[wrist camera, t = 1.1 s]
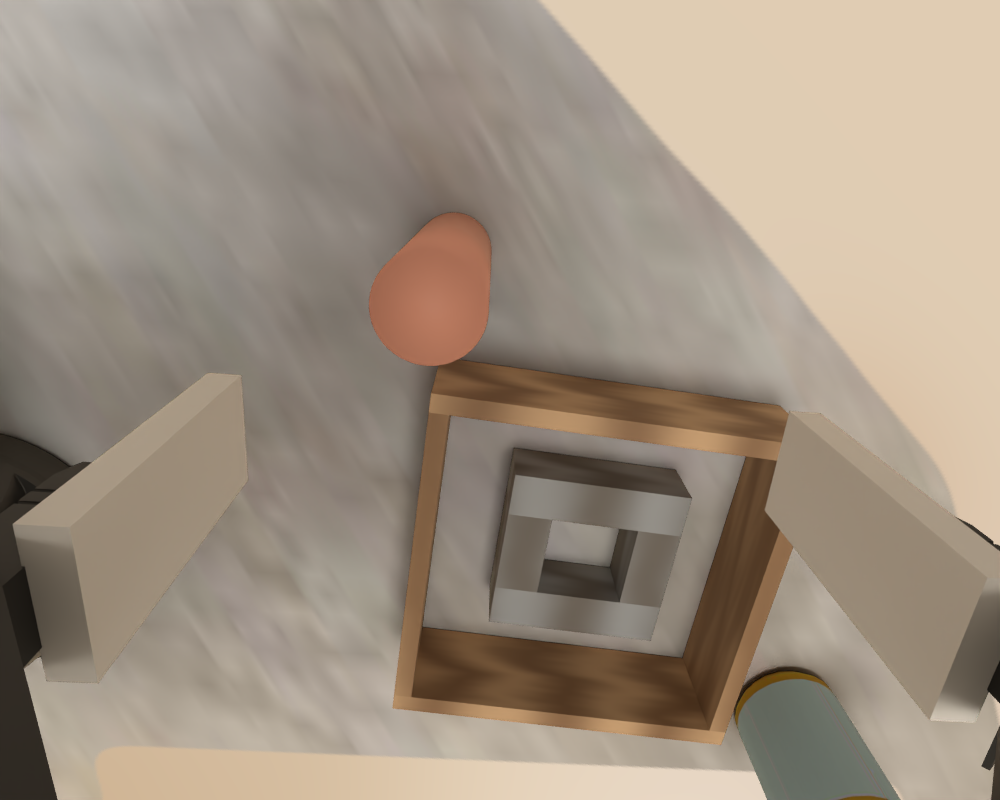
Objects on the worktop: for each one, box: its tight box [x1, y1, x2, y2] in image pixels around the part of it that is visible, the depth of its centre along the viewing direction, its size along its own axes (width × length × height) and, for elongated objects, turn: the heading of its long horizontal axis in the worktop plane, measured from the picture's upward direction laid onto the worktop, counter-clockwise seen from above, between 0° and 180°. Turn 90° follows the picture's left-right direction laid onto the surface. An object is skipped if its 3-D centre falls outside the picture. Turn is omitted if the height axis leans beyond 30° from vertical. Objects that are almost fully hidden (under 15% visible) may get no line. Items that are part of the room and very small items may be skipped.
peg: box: [369, 212, 491, 366], centre depth 28 cm, size 4×4×14 cm
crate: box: [393, 360, 793, 745], centre depth 38 cm, size 20×20×6 cm
